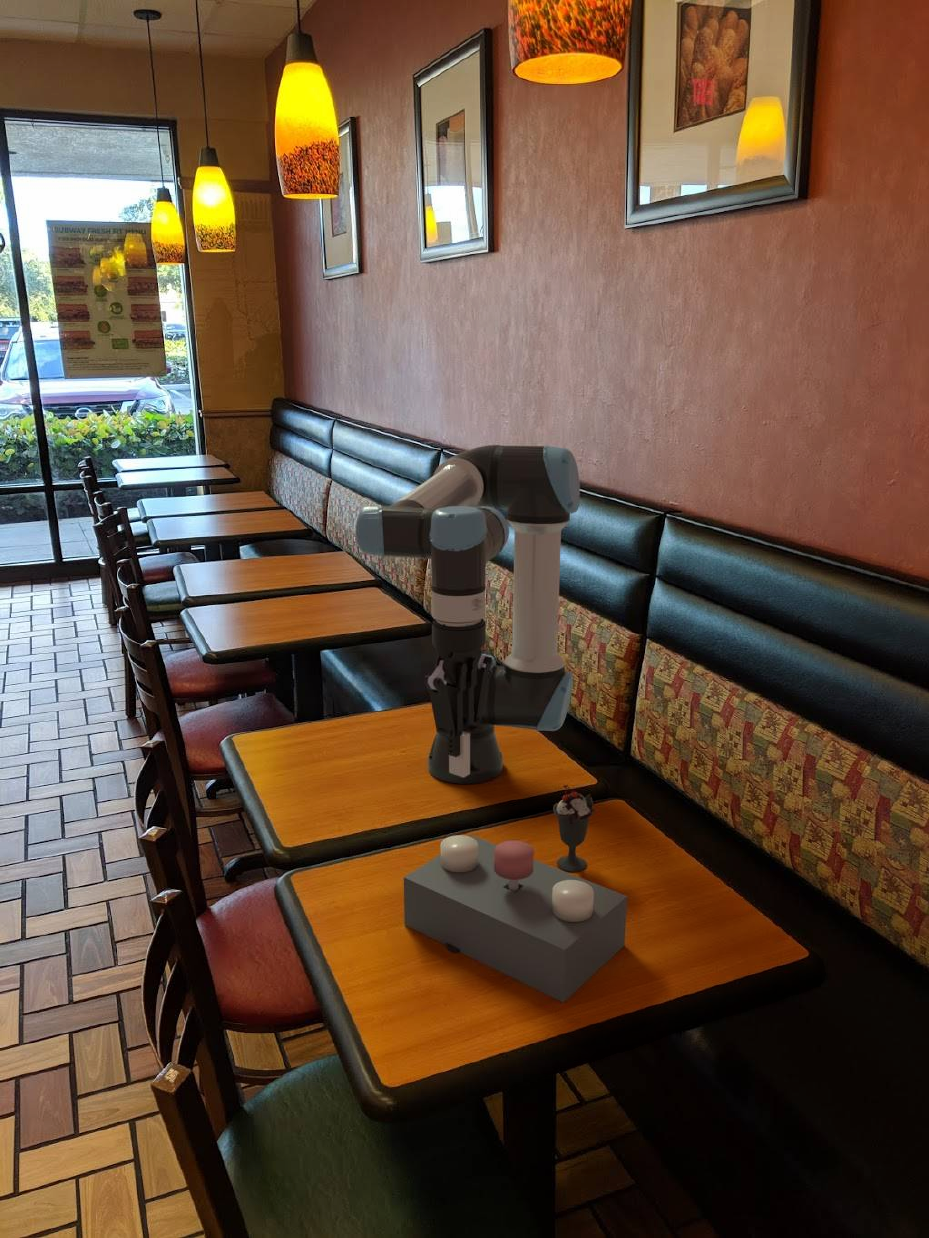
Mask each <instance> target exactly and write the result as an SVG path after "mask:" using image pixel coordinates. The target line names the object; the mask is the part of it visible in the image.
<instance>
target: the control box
mask: <svg viewBox="0 0 929 1238" xmlns="http://www.w3.org/2000/svg"><path fill="white" fill-rule="evenodd" d="M468 837H471V838H473V839H475V840H476V841H477V842H478V865H477V867H476V868H474V869H473V870H471V871H467V872H451V871H448V870H446V869H444V868H443V867H442V866H441V853H440V854H439V855H437V856H436V857H434V858H432V859H431V860H429V861H428V862H426V863H424V864H423V865H421V866H420V867H418V868H416V869H415V870H412V871H411V872H410V873H408V874H406V875H405V876H403V907H404V908H403V910H404V911H403V912H404V916H403V917H404V926H406V927H408V928H410V929H413V930H415V931H416V932H418V933H421V934H422V935H424V936H426V937H429V938H431V939H433V940H435V941H436V942H438V943H440V944H443V945H445V946H446V942H447V943H449V944H451V945H453V946H455V947H457V948H459V949H460V953H461V954H462V955H465V956H467V957H470V958H471V959H473V960H475V961H477V962H478V963H481V964H483V965H486V966H488V967H489V968H491V969H494V970H495V971H497V972H499V973H501V974H504V975H506V976H508V977H510V978H512V979H514V980H516V981H518V982H520V983H523V984H524V985H526V986H528V987H530V988H532V989H533V990H536V991H538V992H540V993H542V994H544V995H546V996H548V997H551V998H553V999H555V1000H556V1001H558V1002H561V1003H565V1001H567V1000H568V999H569V998H570V997H571V996H573V994H574V993H576V991H578V990H579V989H580V988H581V987H582V986H583V985H584V984H585V983H586V982H587V981H588V980H589V979H591V978H592V976H594V975H595V974H596V973H597V972H598V971H599V970H600V969H601V968H602V967H604V965H606V963H608V962H609V961H610V960H611V959H612V958H613V957H614V956H615V955H616V954H617V953H618V952H620V950H622V949H623V948H624V947H625V945H626V929H627V927H626V926H627V908H628V907H627V906H628V896H627V895H625V894H622V893H619V892H618V891H615V890H612V889H610V888H607V887H605V886H603V885H600V884H597V883H595V882H593V881H589V880H587V879H585V878H582V877H579V876H577V875H575V874H571V873H569V872H568V871H564V870H562V869H560V868H556V867H554V866H552V865H549V864H546V863H543V862H541V861H538V860H536V859H534V863H533V873H532V874H531V875H530V876H529V877H527V878H524V879H519V880H518V891H517V892H513V891H510V890H509V879H505V878H502V877H500V876H498V875H497V874H496V873H495V871H494V849H495V847H496V846H497V845H498V844H496V843H493V842H491V841H488V840H486V839H483V838H480V837H478V836H476V835H473V834H470V836H469V835H468ZM564 880H578V881H582V882H585V883H587V884H588V885H590V886H591V887H592V888H593V891H594V899H593V914H592V916H591V917H590V918H589V919H587V920H584V921H580V922H569V921H565V920H562V919H559V918H558V917H556V916H555V915H554V914H553V912H552V891H553V887H554V885H555V884H557V883H558V882H561V881H564Z"/></svg>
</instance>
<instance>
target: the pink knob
mask: <svg viewBox="0 0 929 1238" xmlns="http://www.w3.org/2000/svg"><path fill="white" fill-rule="evenodd" d="M496 845H497V846H496V847H495V849H494V871H495V873H496V874H497V875H498V876H500V877H502V878H505V879H509V890H510V891H513V892H517V891H518V880H519V879H524V878H527V877H529V876H530V875H531V874H532V873H533V863H534V860H535V858H534V856H535V855H534V853H535V852H534V851H535V850H534V848H533V846H532V845H530V843H527V842H524V841H520V840H506V841H502V842H500V843H498V844H496Z"/></svg>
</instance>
